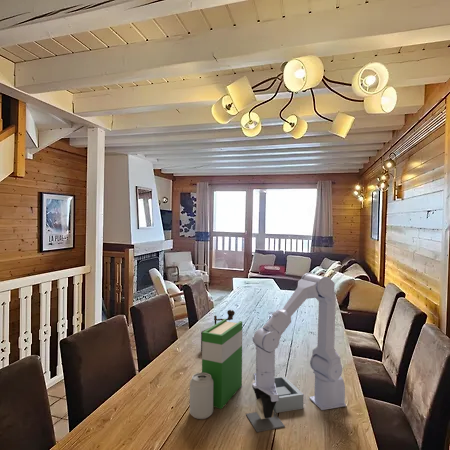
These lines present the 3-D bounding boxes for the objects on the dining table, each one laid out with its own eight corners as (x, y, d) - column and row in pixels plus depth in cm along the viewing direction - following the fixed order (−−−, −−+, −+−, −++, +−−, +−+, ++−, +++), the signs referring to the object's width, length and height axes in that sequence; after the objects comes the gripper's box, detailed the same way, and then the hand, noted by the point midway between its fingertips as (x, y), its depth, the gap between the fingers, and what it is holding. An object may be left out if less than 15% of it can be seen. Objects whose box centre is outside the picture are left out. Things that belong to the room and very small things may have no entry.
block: (268, 409, 104) (268, 397, 104) (273, 417, 100) (273, 403, 100) (256, 411, 103) (256, 399, 103) (261, 419, 99) (261, 405, 99)
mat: (272, 410, 107) (272, 409, 107) (284, 427, 98) (284, 425, 98) (246, 414, 104) (246, 413, 104) (256, 432, 96) (256, 430, 96)
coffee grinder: (220, 356, 151) (220, 316, 151) (200, 351, 157) (200, 313, 157) (236, 345, 164) (236, 309, 164) (217, 341, 170) (217, 306, 170)
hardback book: (223, 381, 127) (224, 318, 127) (241, 385, 124) (242, 321, 124) (201, 403, 111) (202, 332, 111) (221, 409, 108) (222, 335, 108)
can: (213, 407, 109) (213, 370, 109) (213, 420, 101) (213, 381, 101) (190, 407, 109) (190, 370, 109) (188, 420, 101) (189, 381, 101)
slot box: (284, 388, 122) (284, 375, 122) (303, 408, 109) (303, 394, 109) (258, 391, 119) (259, 378, 119) (275, 412, 106) (275, 398, 106)
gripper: (245, 360, 107) (244, 402, 107) (262, 381, 93) (262, 429, 93) (265, 358, 109) (264, 399, 109) (285, 378, 95) (284, 425, 95)
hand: (264, 413), depth 101 cm, fingers closed on block, 4 cm apart
